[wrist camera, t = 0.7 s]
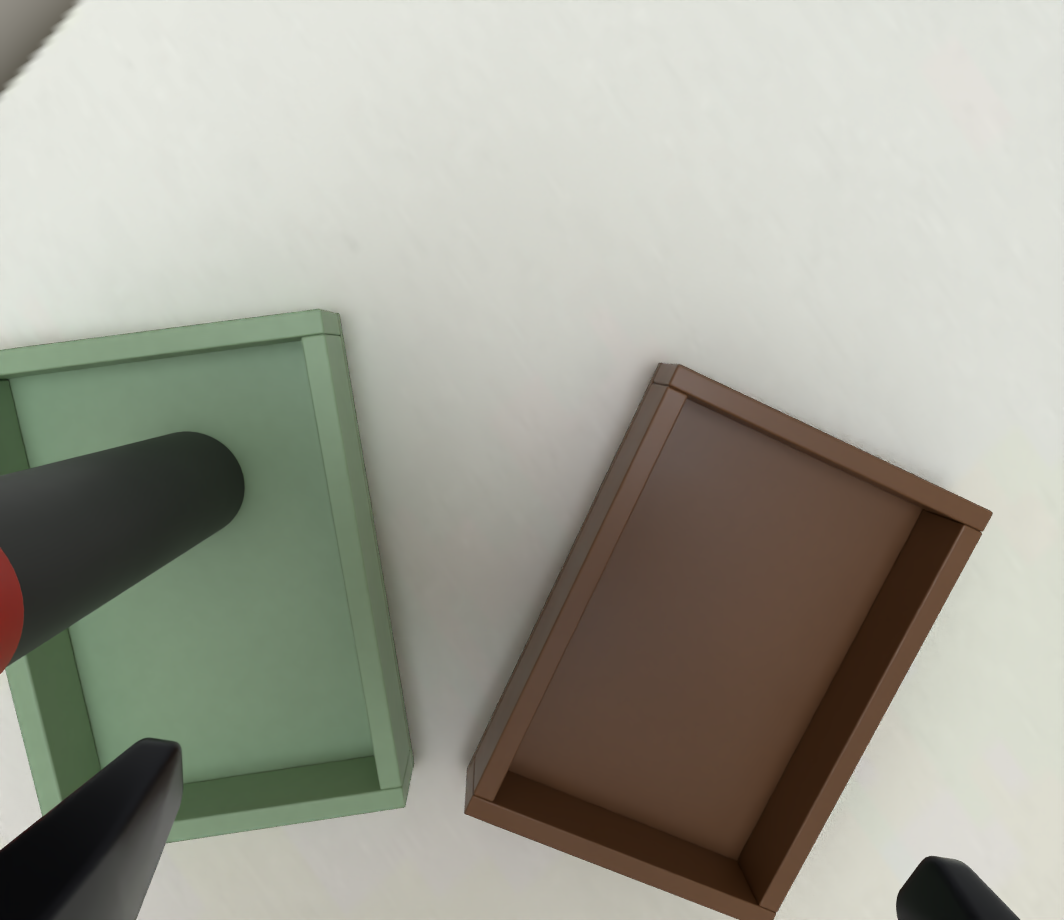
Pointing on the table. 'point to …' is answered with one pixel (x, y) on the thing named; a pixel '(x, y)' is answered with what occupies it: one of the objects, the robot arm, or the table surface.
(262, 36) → the table surface
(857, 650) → the walnut tray
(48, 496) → the thermos
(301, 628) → the green tray
